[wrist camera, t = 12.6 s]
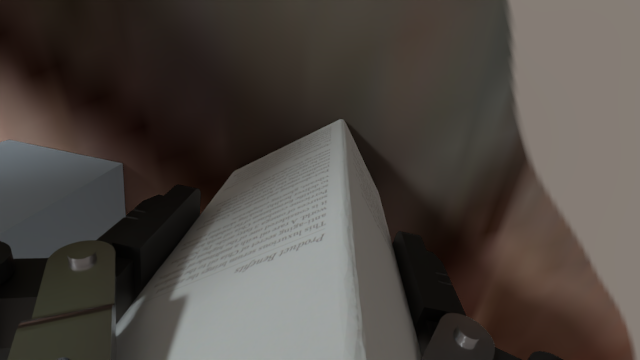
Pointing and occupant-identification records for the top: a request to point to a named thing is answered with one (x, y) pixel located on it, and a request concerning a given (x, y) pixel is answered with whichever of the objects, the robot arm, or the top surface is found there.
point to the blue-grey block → (55, 198)
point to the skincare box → (280, 268)
